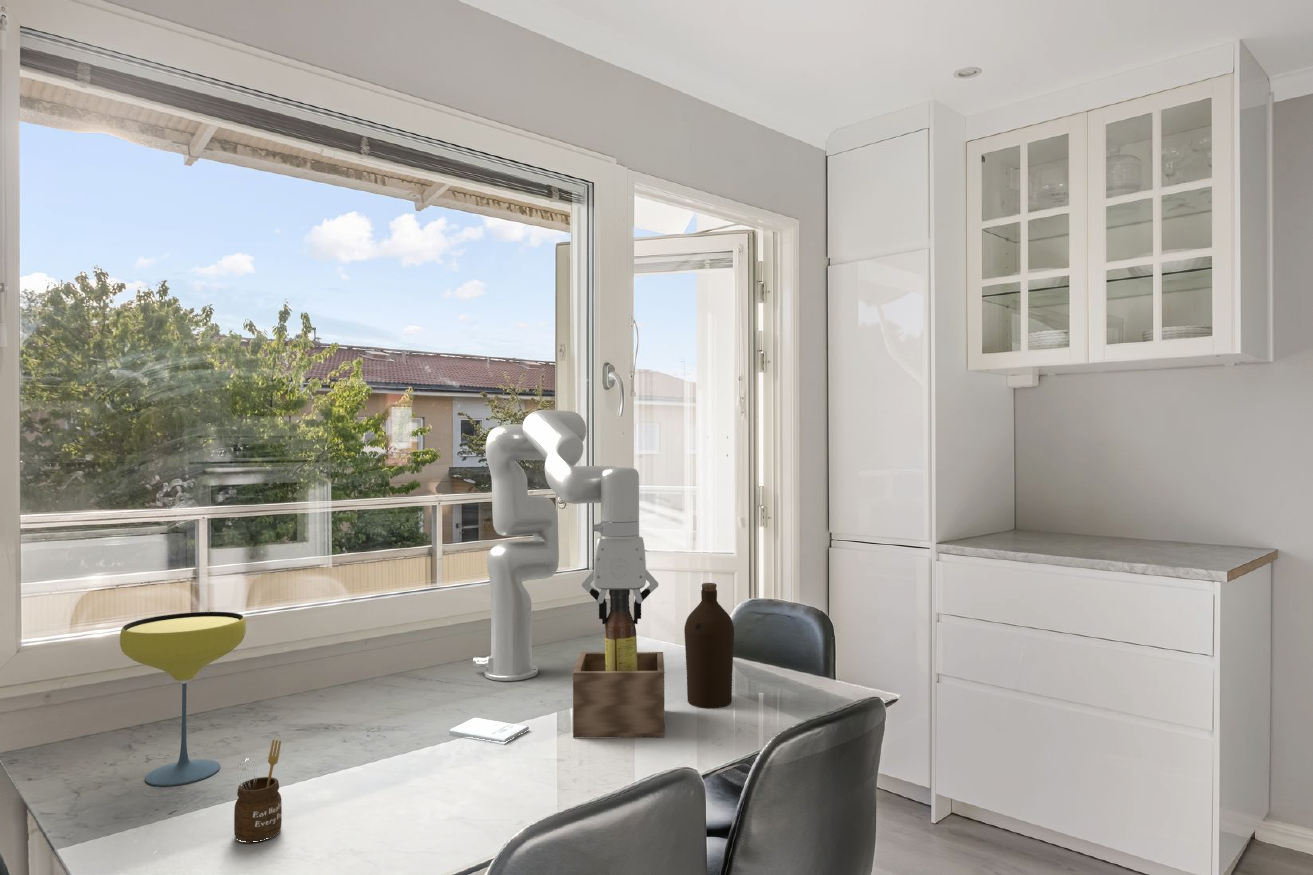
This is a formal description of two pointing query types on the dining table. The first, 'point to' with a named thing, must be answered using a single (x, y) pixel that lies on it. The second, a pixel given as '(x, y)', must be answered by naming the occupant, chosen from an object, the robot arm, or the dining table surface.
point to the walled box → (618, 698)
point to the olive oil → (709, 652)
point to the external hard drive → (488, 730)
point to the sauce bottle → (620, 634)
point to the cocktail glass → (182, 668)
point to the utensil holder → (258, 804)
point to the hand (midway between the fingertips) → (620, 621)
